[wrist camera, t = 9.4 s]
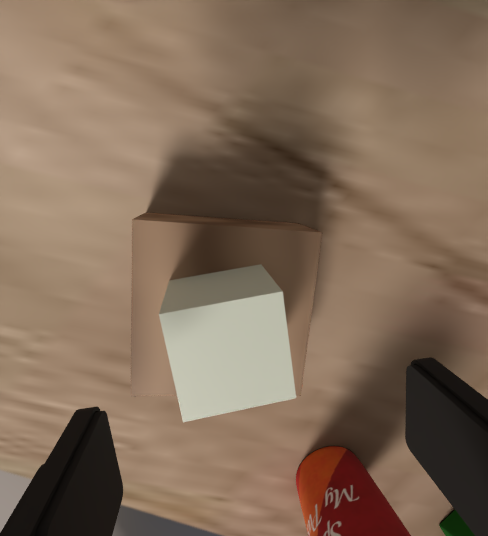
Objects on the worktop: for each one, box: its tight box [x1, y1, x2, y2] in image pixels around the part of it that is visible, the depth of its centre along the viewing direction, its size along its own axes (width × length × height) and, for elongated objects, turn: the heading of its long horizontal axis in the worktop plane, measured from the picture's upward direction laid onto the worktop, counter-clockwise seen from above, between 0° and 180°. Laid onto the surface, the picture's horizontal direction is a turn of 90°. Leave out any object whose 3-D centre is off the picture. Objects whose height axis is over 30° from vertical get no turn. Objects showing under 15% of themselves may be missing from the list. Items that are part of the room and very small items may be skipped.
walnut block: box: [131, 213, 322, 396], centre depth 22 cm, size 10×10×5 cm
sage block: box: [159, 264, 296, 422], centre depth 17 cm, size 5×5×5 cm
